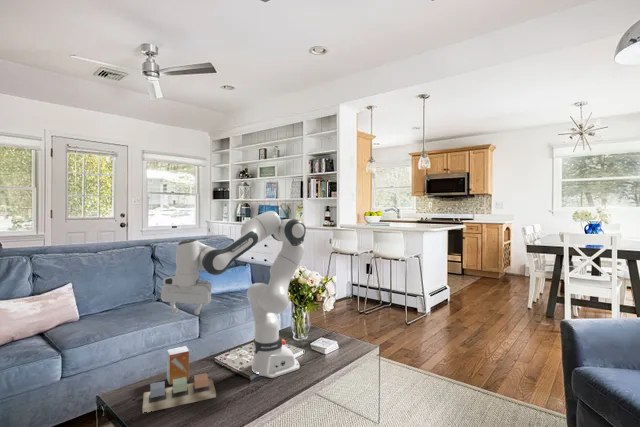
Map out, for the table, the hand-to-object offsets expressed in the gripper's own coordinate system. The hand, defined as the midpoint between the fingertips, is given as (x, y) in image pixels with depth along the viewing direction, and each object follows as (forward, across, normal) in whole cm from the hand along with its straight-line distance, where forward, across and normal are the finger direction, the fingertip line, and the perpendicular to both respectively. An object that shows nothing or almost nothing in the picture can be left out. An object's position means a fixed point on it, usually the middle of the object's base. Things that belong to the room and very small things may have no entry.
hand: (186, 313), depth 141 cm
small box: (+32, +7, -8) cm, 34 cm away
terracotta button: (+28, -7, 0) cm, 29 cm away
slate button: (+29, +6, +9) cm, 31 cm away
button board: (+32, -1, +4) cm, 33 cm away
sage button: (+29, -1, +4) cm, 29 cm away
